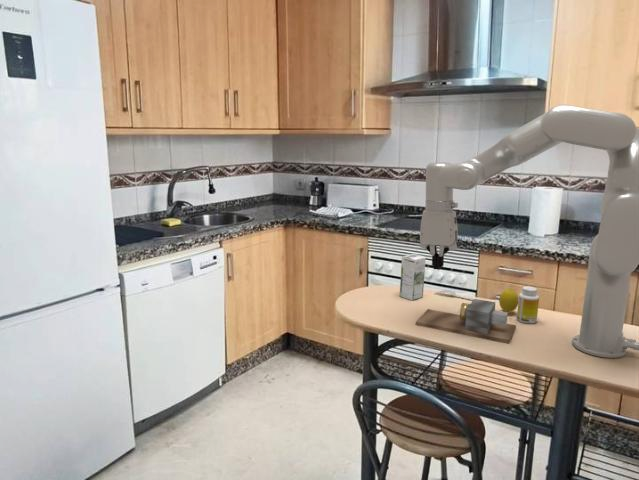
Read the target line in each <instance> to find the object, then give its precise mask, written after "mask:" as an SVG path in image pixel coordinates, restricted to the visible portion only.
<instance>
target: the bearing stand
mask: <svg viewBox="0 0 639 480" xmlns="http://www.w3.org/2000/svg"><path fill="white" fill-rule="evenodd" d="M473 299H474V300H471V303H469V304H470V305H469V307H468V308H467V311H466V321H464V320H460V314H457V313H456V314H455V313H451V312H446V311H442V310H441V311H440V310H435V309H429V308H428V309H426V310H425V311H424V312H423V313H422V314H421V315H420V317H419V318H418V319H417V320H416V321H415V326H419V327H423V328H424V327H425V328H429V329H435V330H438V331H445V332H448V333H449V332H450V333H454V334H458V335H463V336H469V337H475V338H479V339H484V340H490V341H494V342H498V343H504V344H510V342H511V340H512V337H513V335H514V333H515V331H516V327H517V325H516V324H513V323H512V324H511V323H508V322H507V323H506V325H505V326H502V325H496V324H491V323H490V316H491V311H492V310H496V301H491V300H484V299H478V298H473Z"/></svg>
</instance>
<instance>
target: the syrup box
mask: <svg viewBox="0 0 639 480" xmlns="http://www.w3.org/2000/svg"><path fill="white" fill-rule="evenodd" d="M400 266H401V270H400V282H399V283H400V284H399V285H400V286H399V297H400V298H404V299H406V300H409V301H415V300H418V299H422V298H423V297H424V286H425V284H424V283H425V275H426V274H425V272H426V271H425V270H426V257H425V256H424V255H419V254H416V253H412V254H408V255H404V256H402V257H401V265H400Z"/></svg>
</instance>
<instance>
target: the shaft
mask: <svg viewBox="0 0 639 480" xmlns="http://www.w3.org/2000/svg"><path fill="white" fill-rule="evenodd" d="M470 304H471V303H467V302H462V303H461V306H460V308H459V309H460V310H459V315H460V320H464V321H466V311H467V308H468V307H469V305H470ZM508 315H509V313H508V312H506V311H502V310H501V311H500V310H496V309H495V310H492V311H491V316H490V323H491V324H496V325H502V326H505V325H506V323H507V324H508Z"/></svg>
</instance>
